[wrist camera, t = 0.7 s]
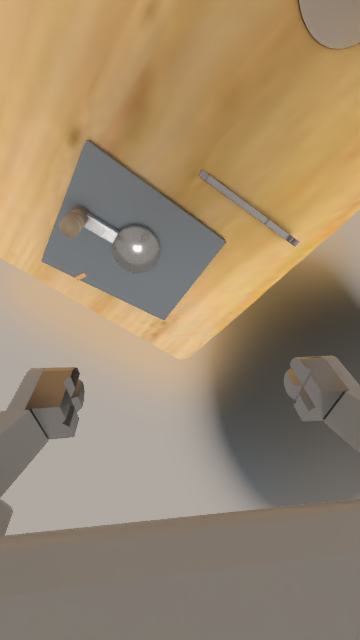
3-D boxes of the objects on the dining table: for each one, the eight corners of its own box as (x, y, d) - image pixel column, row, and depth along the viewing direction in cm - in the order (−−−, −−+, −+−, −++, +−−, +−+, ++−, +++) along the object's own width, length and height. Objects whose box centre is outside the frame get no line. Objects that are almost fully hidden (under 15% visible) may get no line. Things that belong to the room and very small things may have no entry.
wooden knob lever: (168, 241, 42) (170, 257, 36) (145, 275, 46) (144, 295, 40) (82, 186, 36) (69, 195, 30) (64, 231, 39) (50, 247, 34)
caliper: (288, 233, 45) (304, 245, 41) (284, 238, 46) (300, 250, 41) (201, 169, 38) (208, 174, 33) (197, 175, 38) (204, 181, 33)
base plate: (89, 140, 34) (85, 140, 32) (223, 238, 45) (226, 242, 43) (45, 257, 44) (40, 262, 42) (163, 315, 55) (163, 321, 53)
